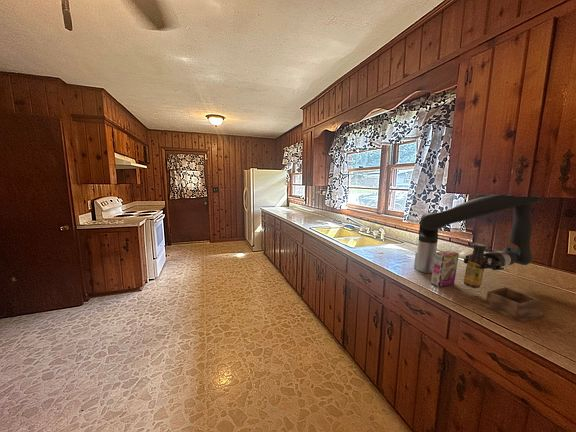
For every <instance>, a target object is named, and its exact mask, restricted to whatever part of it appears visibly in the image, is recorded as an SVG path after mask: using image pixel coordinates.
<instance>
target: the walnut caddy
mask: <svg viewBox="0 0 576 432" xmlns="http://www.w3.org/2000/svg"><path fill="white" fill-rule="evenodd" d="M541 300H542V299H539V298H537V297H533V296H531V295H529V294H525V293H523V292H520V291H517V290H514V289H512V288H509V287H506V286H505V287H500V288H498V289H493V290H489V291H487V293H486V298H485V300H482V301H480V305H482V306H484V307H486V308H489V309H491V310H494V311H496V312H497V313H500V314H502V315H505V316H506V317H509V318H511V319H512V320H515V321H518V322H520V323H522V324H524V323H526V322H529V321H532V320H535V319H537V318H540V317H543V316H544V312H543V311H540V304H541Z"/></svg>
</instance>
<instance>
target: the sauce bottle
mask: <svg viewBox="0 0 576 432" xmlns="http://www.w3.org/2000/svg"><path fill="white" fill-rule="evenodd" d="M486 246H487V245H486V244H482V243H479V242H477V243H475V242H474V244H473V251H472V253H471V254H472V255H471V256H470V257H469V260H468V262H467V264H466V269H465V272H464V279H463V283H464V285H465V287H469V288H472V289H480V287H481V285H482V282H483V277H484V276H483V275H484V272H485V269H480V265H481V264H483V263H485V258H484V256H483V255H484V254H485V249H487V248H486Z"/></svg>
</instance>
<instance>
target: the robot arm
mask: <svg viewBox="0 0 576 432" xmlns="http://www.w3.org/2000/svg"><path fill="white" fill-rule="evenodd" d="M501 194H502V195H501V196H499V194H493V195H486V196H482V197H477V198H474V199H470V200H467V201H466V202H461V203H460V204H458V205H455V206H453V207H452V208H450V209H449V208H448V209H446V210H443V211H438V212H431V211H429V212H425V213H423V214H422V215H421V217H420V221H419V231H418V242H417V251H416V252H415V255H414V263H413V268H414V269H415V270H416V271H417V272H421V273H425V274H432V269H433V262H434V255H435V252H437V249H438V243H439V242H438V240H439V229H441V228H444V227H445V226H449V225H451V224H455V223H459V222H464V221H468V220H473V219H476V218H480V217H486V216H487V215H491V214H493V213H498V212H501V211H505V210H507V209H510V208H513V219H512V226H511V231H510V237H509V242H510V243H511V244H513V245H515V246H517V247H518V248H515V247H513V246H511V247H509V246H508V247H505V248H504V249H502V250H496V251H489V252H484V255H483V256H484V258H485V263H483V264H481V265H480V269H484V270H485V269H487V270H490V269H491V270H492V271H501V270H502V271H503V270H505V268H506V267H507V266H511V265H514V264H518V265H522V266H527V265H529V264H530V263H531V262H532V261H533V255H532V250H531V237H532V232H533V222H532V207H533V204H535V203H538V202H540V201H542V200H544V198H537V197H515V196H506V195H505V194H507V192H504V193H501ZM503 194H504V195H505V196H504V195H503ZM472 254H473V253H470V254H467V255H465V258H463V263H464V264H466V265H467V262H468V260H469V257H470V256H471V255H472Z"/></svg>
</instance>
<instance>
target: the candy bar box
mask: <svg viewBox="0 0 576 432" xmlns="http://www.w3.org/2000/svg"><path fill="white" fill-rule="evenodd" d="M459 254H460V253H459V252H456V251H452V250H444V251H436V252H435V255H434V262H433V269H432V273H431V278H430V284H431V285H433V286H435V287H437V288H442V287H446V286H451V285H455V280H456V273H457V269H458V268H457V267H458V262H459Z"/></svg>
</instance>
